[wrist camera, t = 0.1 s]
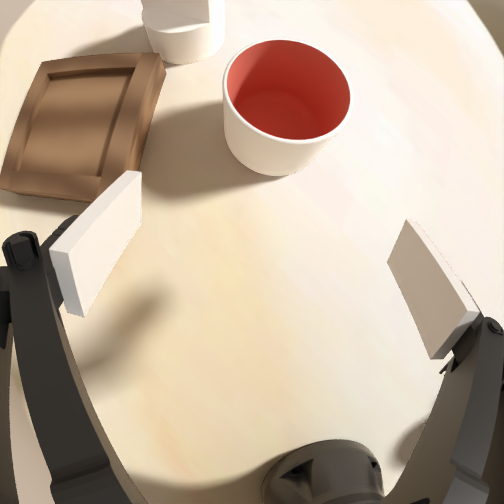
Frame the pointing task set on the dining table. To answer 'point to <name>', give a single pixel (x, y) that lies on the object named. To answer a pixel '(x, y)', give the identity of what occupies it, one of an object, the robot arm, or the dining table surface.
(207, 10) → the cylinder with rectangular tab
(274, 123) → the cup
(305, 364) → the dining table surface
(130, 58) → the walnut base
